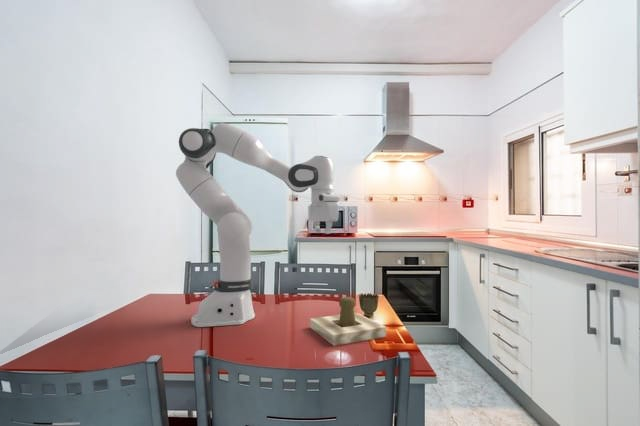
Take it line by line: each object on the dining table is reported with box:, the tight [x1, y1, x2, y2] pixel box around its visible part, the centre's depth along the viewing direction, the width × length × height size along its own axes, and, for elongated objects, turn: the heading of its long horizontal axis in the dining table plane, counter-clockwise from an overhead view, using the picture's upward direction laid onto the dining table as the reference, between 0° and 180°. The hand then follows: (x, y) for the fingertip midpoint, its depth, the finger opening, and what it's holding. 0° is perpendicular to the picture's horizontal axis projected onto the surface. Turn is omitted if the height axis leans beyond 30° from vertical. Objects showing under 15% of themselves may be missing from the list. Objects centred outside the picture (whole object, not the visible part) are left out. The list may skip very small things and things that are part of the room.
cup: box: [358, 292, 379, 318], centre depth 125 cm, size 8×7×8 cm
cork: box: [338, 296, 356, 328], centre depth 108 cm, size 6×6×11 cm
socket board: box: [309, 312, 387, 346], centre depth 108 cm, size 18×18×3 cm
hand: (322, 233), depth 130 cm, fingers open, 8 cm apart
